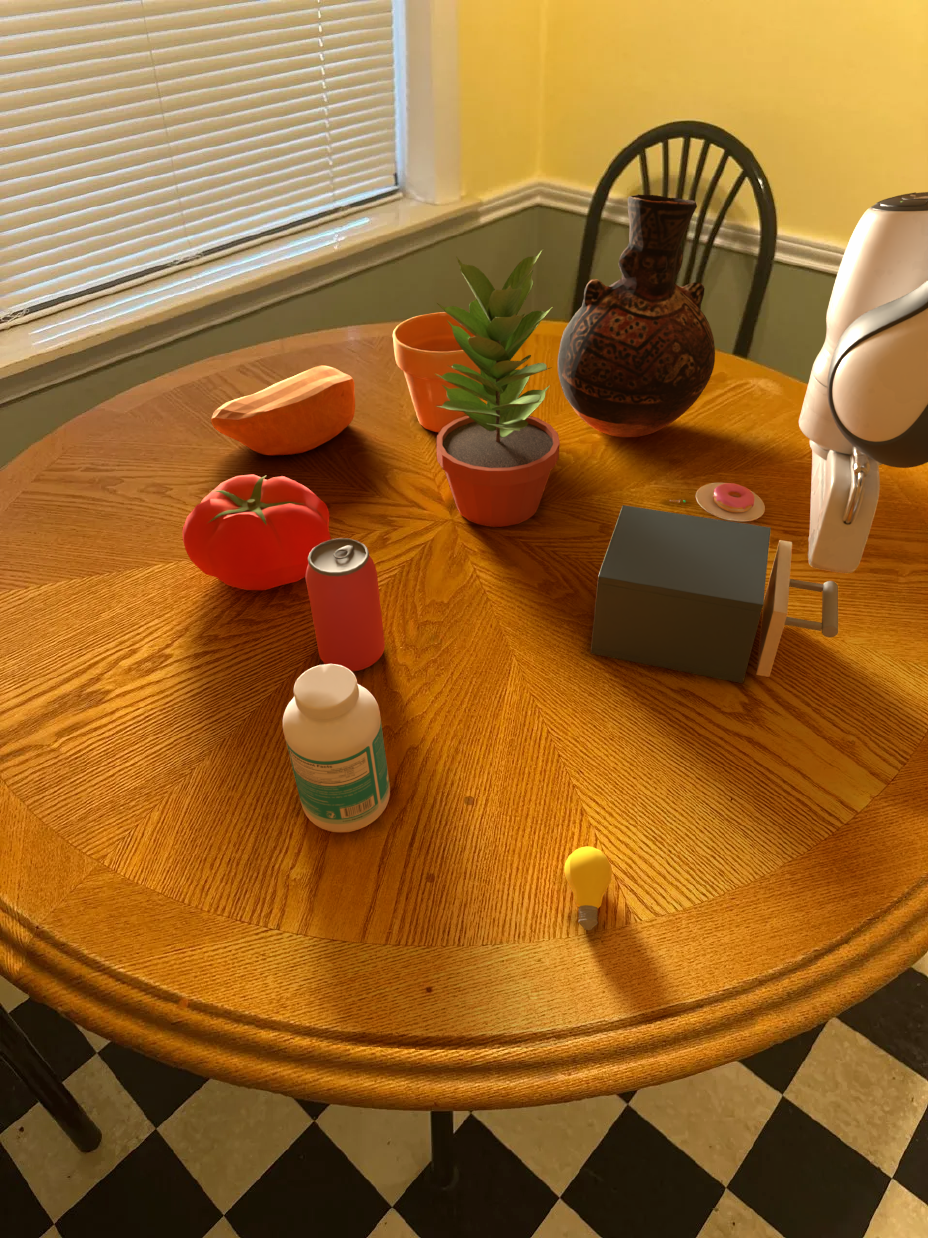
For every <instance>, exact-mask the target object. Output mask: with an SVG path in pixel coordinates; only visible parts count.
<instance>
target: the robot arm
mask: <svg viewBox="0 0 928 1238" xmlns="http://www.w3.org/2000/svg"><path fill="white" fill-rule="evenodd" d="M843 253H844V254H843V255H842V259H841V261H840V263H839V267H838V271H837V274H836V277H835V281H834V284H833V287H832V290H831V294H830V299H829V302H828V307H827V309H826V318H825V321H826V323H825V324H826V334H825V339H824V343H823V345H822V347H821V349H820V351H819V353H818V354H817V356H816V358H815V360H814V362H813V364H812V368H811V371H810V376H809V380H808V384H807V387H806V390H805V391H806V392H805V395H804V398H803V402H802V407H801V411H800V414H799V418H798V426H799V429H800V431H801V432H802V434H803V435H804V436H805V437H806V438H808V440H809V442H808V443H809V447H810V449H811V458H812V459H811V482H810V483H811V484H810V485H811V486H810V508H809V509H810V511H809V512H810V513H809V536H808V539H807V540H808V541H807V559H808V560H807V561H808V564H809V566H810V567H811V568H814V569H818V570H821V571H827V572H834V573H839V574H853V573H854V572H855V571H856V570H857V568H858V567H859V566H860V563H861V561H862V558H863V554H864V552H865V549H866V545H867V541H868V539H869V536H870V531H871V529H872V526H873V522H874V519H875V515H876V511H877V506H878V502H879V498H880V489H881V478H880V467H879V466H881V465H884V466H888V467H892V468H896V469H909V468H917V467H919V466H923V465H924V464H927V463H928V191H922V192H910V193H904V194H900V195H896V196H891V197H887V198H885V199H882V200H879V201H878V202H876V203H875V204H873V205H872V206H870V207H869V208H867V209H866V210H865V212H864V213H863V214H862V216H861V217H860V219H859V220H858V222H857V224H856V226H855V228H854V229H853V232H852V234H851V236H850V238H849V241H848V243H847V246H846V248H845V249H844V252H843Z"/></svg>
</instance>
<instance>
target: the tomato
mask: <svg viewBox="0 0 928 1238" xmlns="http://www.w3.org/2000/svg"><path fill="white" fill-rule="evenodd" d="M265 478H267V475H264V476H262V477H261V476H258V475H256V474H253V473H252V474H244V475H236V476H234V477H231V478H229V479H226V480H225V481H222V482H221V483H220V484H219V485H217V486H216V487H215V488H214V489H210V492H209V493H208V494H207V495H205V497H204V498H203V499H202V500H201V502H200V503H197V504H196V505H195V506H194V508H193V509H192V510H191V511H190V513H189V514H188V515H187V516H186V519H185V522H184V524H183V527H182V529H181V531H182V542H183V546H184V550H185V552H186V554H187V556H188V558H189V560H190V562H192V563H193V564H194V565H195V566H196V567H197V568H198V569H199V570H200V571H201V572H203V574H205V575H207V576H211V577H214V578H216V579H217V580H219V581H221V582H222V583H223V584H225V585H227V586H230V587H232V588H237V589H241V590H245V591H266V590H270V589H274V588H277V587H279V586H284V585H289V584H292V583H297V582H299V581H301V580H302V579H304V578H306V570H307V566H308V563H309V562H308V556H309V553H310V552H311V551H312V549H313V548H314V547H316V546H317V545H319V544H320V543H322V542H325V541H328V540H331V539H332V537H331V534H330V530H329V527H330V518H331V517H330V515H331V513H330V511H329V509H328V506H327V504H326V503H325V502H324V501H323V500H321V498H320V497H318V496H317V494H315V493H314V492H313V491H312V490H310V489H309V488H308V487H307V486H305V485H303V484H302V483H299V482H297V481H296V480H293V479H291V478H289V477H286V476H283V475H281V476H275V477H271V478H268V479H265Z"/></svg>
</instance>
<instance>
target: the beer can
mask: <svg viewBox="0 0 928 1238" xmlns="http://www.w3.org/2000/svg"><path fill="white" fill-rule="evenodd" d="M308 562H309V563H308V566H307V570H306V576H305V582H306V583H305V584H306V588H307V594H308V599H309V607H310V611H311V617H312V622H313V628H314V633H315V640H316V644H317V650H318V651H317V652H318V656H319V659H320V660H321V661H322V663H323V665H324V664H336V665H341V666H344V667H346V668H348V669H349V670H351V671H352V672H353V673H354V672H358V671H363V670H365V669H367V668H370V667H371V666H372V665H374V664H375V663H377V662H378V661H379V660H380V658H381V657H382V656H383V654H384V651H385V646H386V643H385V634H384V625H383V616H382V605H381V598H380V588H379V578H378V571H377V567H376V565H375V562H374V560H373V558H372V557H371V555H370V551H369V548H368V547H367V546H366V544H364V543H363V542H361V541H359V540H357V539H352V538H349V537H348V538H346V537H338V538H331V540H328V541H325V542H322V543H320V544H319V545H317V546H316V547H314V548H313V549H312V551H311V552H310V553H309V556H308Z"/></svg>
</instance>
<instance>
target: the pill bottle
mask: <svg viewBox="0 0 928 1238" xmlns="http://www.w3.org/2000/svg"><path fill="white" fill-rule="evenodd" d="M381 718H382V717H381V711H380V706H379V704H378V702H377V700H376V698H375V696H374V695H373V694H372V693H371V692H370V691H369V690H368V689H367V688H365V687H364V686H363V685H361V684H359V683H358V680H357V676H356V675H355V673H354V672H352V671H351V670H349V669H348V668H346V667H344V666H341V665H336V664H324V663H323V664H319V665H316V666H313V667H311V668H308V669H307V670H305V671H304V672H303V673H301V674H300V675H299V676H298V678H297V679H296V680H295V683H294V685H293V697H292V699H290V701H289V702H288V704H287V706H286V707H285V710H284V712H283V717H282V731H283V735H284V739H285V744H286V748H287V751H288V756H289V761H290V764H291V767H292V773H293V776H294V780H295V784H296V785H295V786H296V788H297V793H298V796H299V800H300V804H301V807H302V810H303V813H304V814H305V816H306V817H307V819H308V820H309V821H310V822H311V823H312V824H313V825H314V826H316V827H318V828H319V829H322V830H324V831H328V832H332V833H350V832H355V831H358V830H361V829H363V828H366V827H368V826H369V825H371V824H372V823H374V822H375V821H376V820H377V819H378V818H379V817H381V815H382V814H383V812H384V811H385V810H386V808H387V806H388V803H389V800H390V796H391V784H390V777H389V769H388V763H387V755H386V747H385V740H384V739H385V738H384V733H383V726H382V719H381Z"/></svg>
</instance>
